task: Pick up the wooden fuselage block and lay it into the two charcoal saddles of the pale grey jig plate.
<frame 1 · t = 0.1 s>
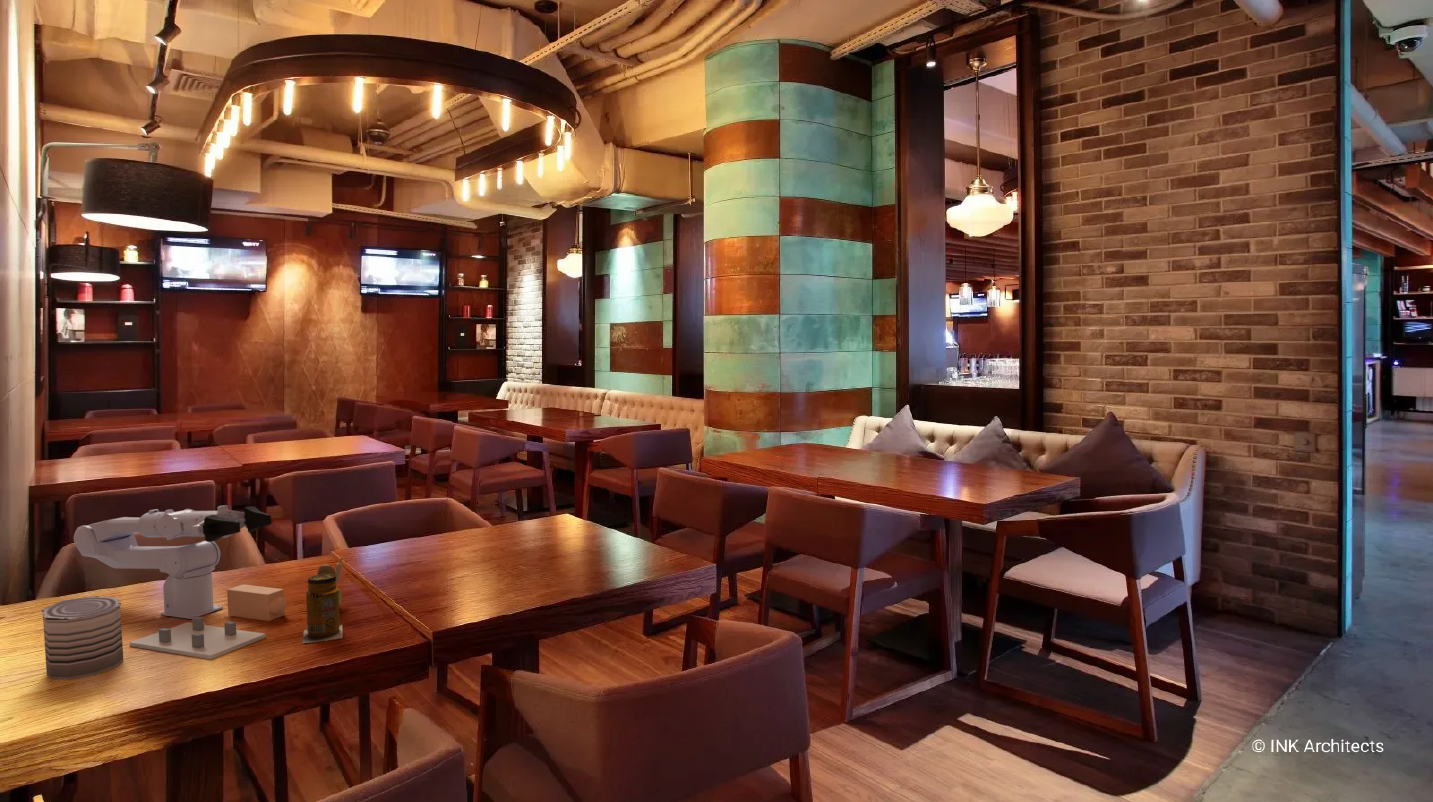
hand: (254, 523, 169), 22 cm above the table, tool horizontal, fingers open, 7 cm apart
cradle jig: (198, 641, 159), on the table
fuselage: (256, 615, 175), on the table
can: (85, 668, 146), on the table
snail figurine: (330, 610, 178), on the table
condiment: (323, 635, 162), on the table
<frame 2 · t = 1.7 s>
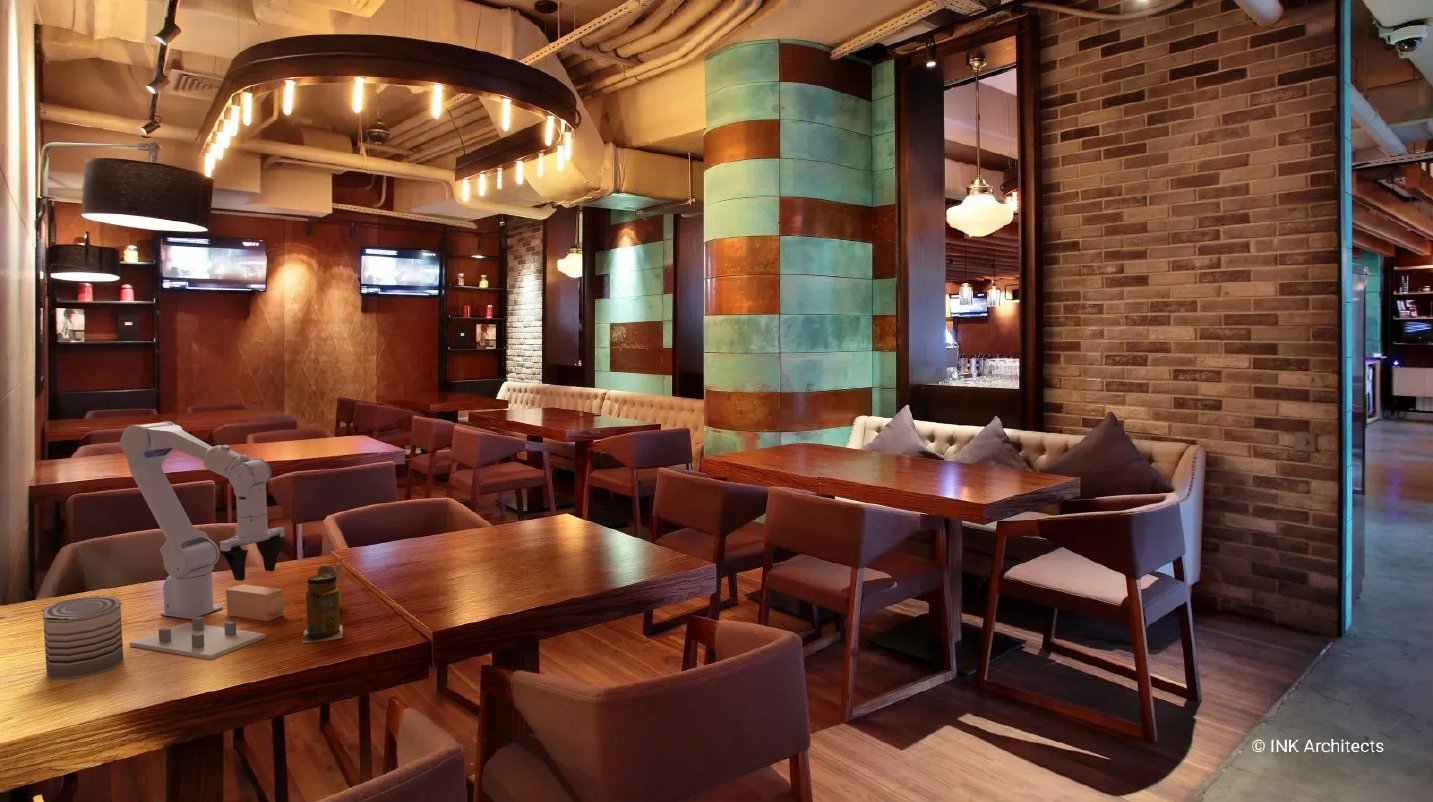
hand: (255, 575, 174), 9 cm above the table, tool pointing down, fingers open, 7 cm apart
nothing on the table moved.
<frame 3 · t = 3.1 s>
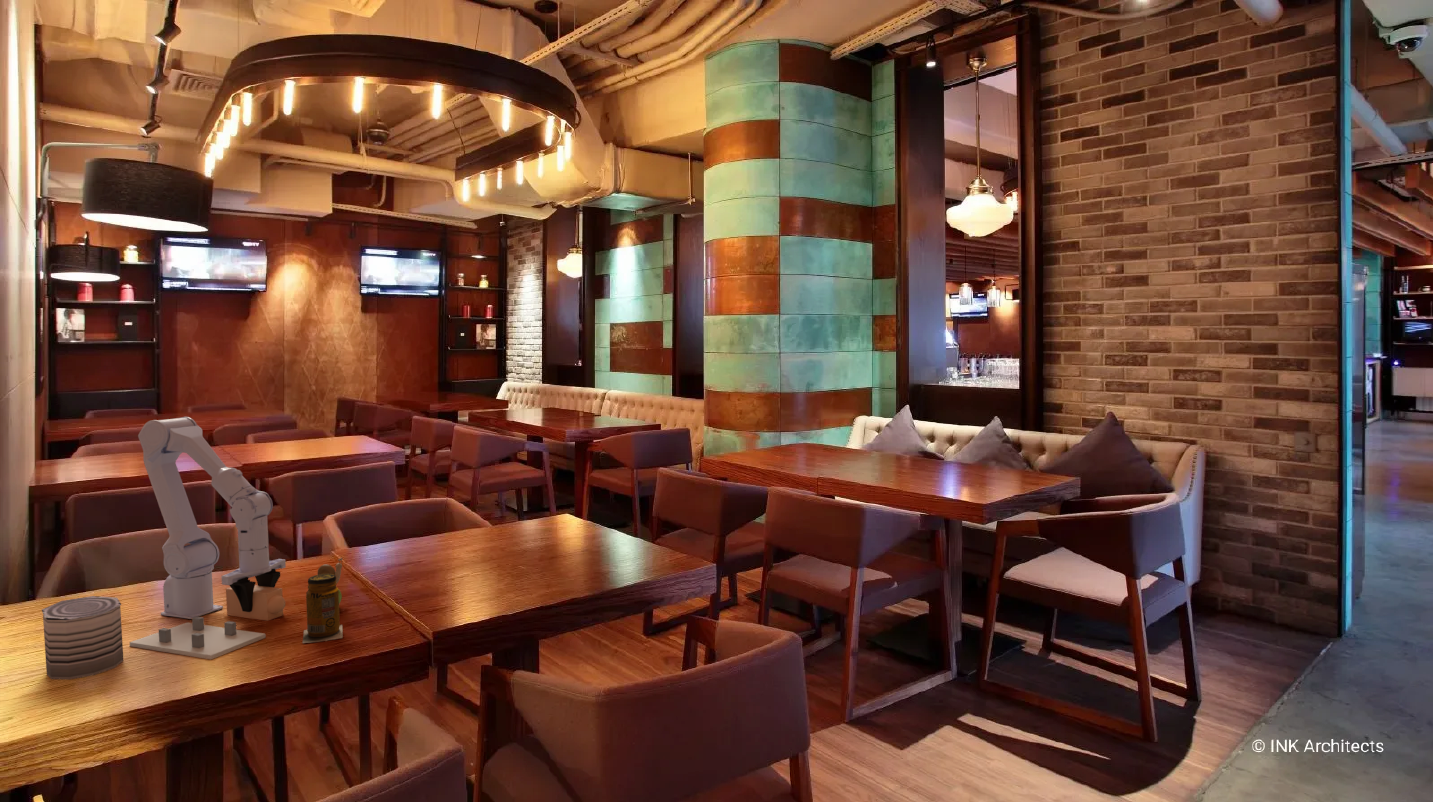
hand: (256, 607, 175), 2 cm above the table, tool pointing down, fingers closed on fuselage, 4 cm apart
fuselage: (255, 614, 175), on the table, touching gripper
everything else where it was.
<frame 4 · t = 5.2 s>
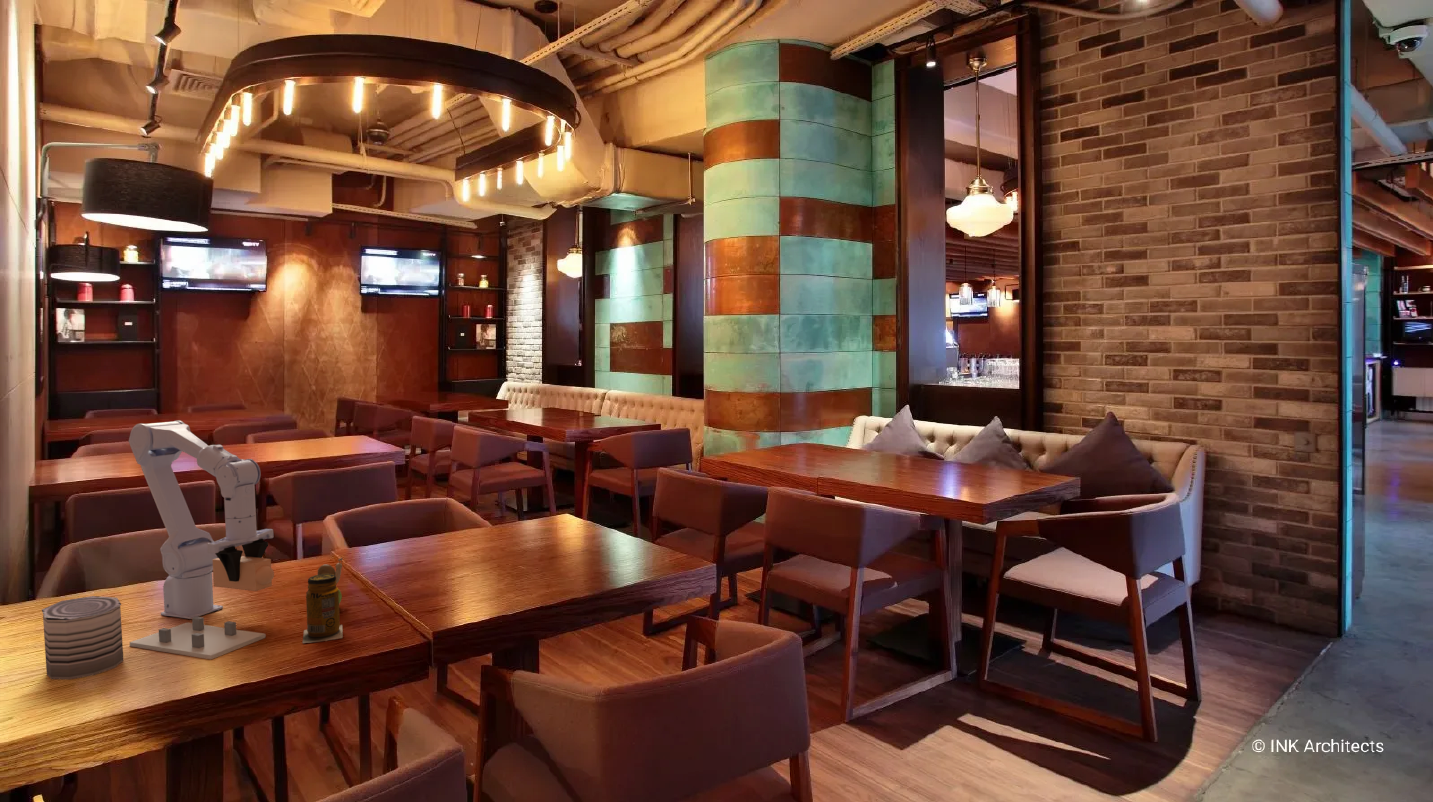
hand: (243, 577, 171), 9 cm above the table, tool pointing down, fingers closed on fuselage, 4 cm apart
fuselage: (242, 586, 171), point 8 cm above the table, touching gripper
everything else where it was.
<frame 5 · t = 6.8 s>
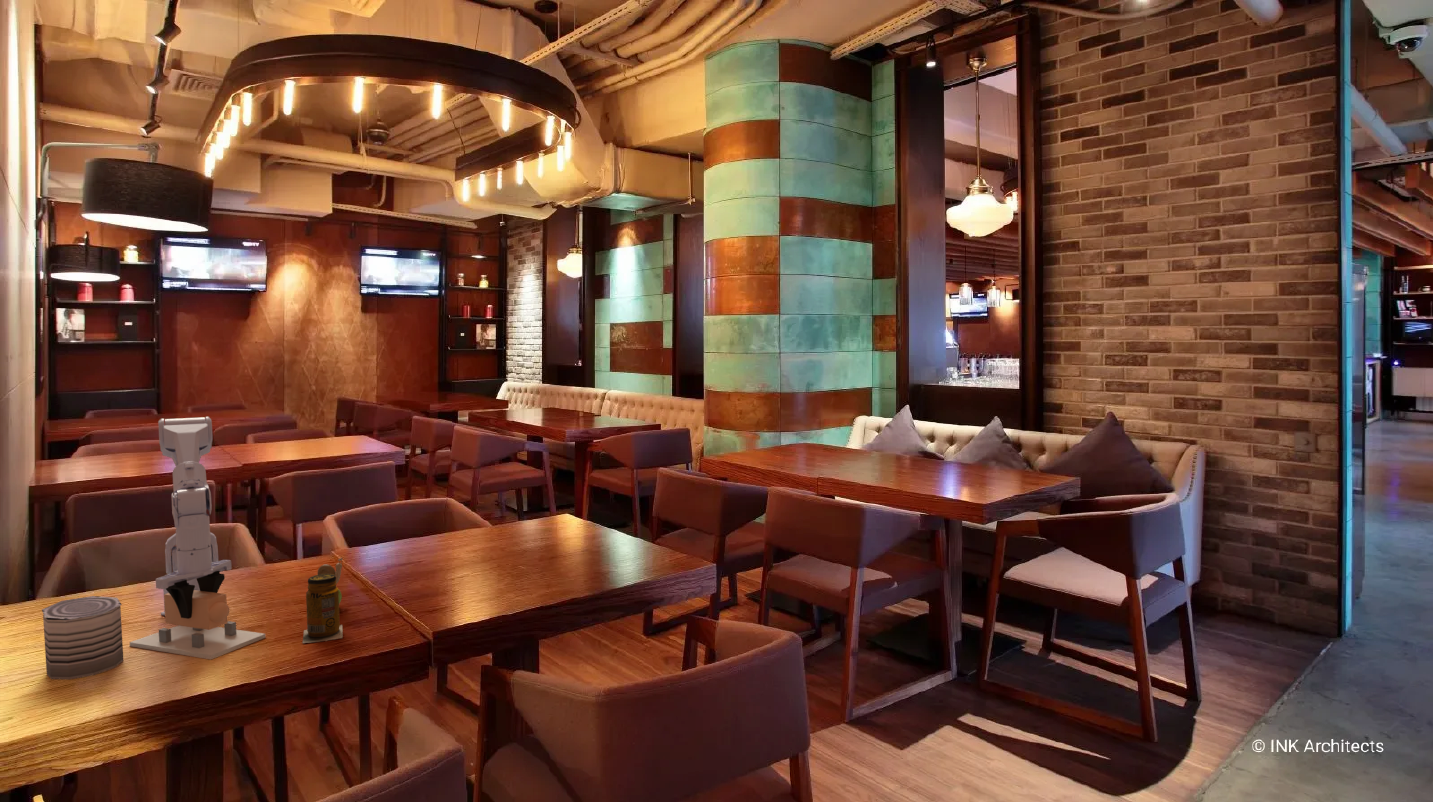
hand: (197, 613, 158), 6 cm above the table, tool pointing down, fingers closed on fuselage, 4 cm apart
fuselage: (196, 623, 159), point 4 cm above the table, touching gripper
everything else where it was.
when the fingers open (4 cm above the table, at t = 7.7 s): fuselage stays where it is, resting on cradle jig.
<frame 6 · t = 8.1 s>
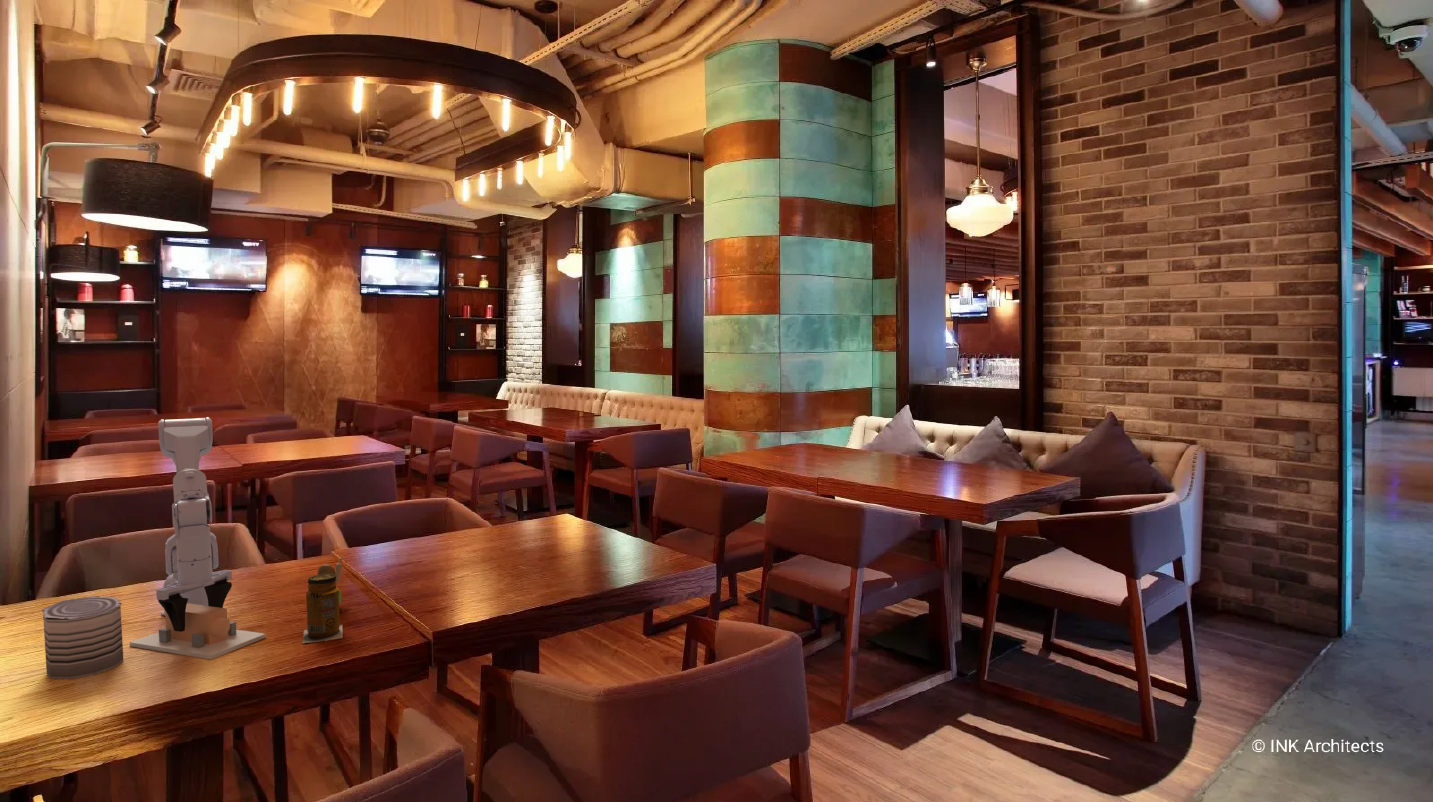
hand: (197, 624, 158), 4 cm above the table, tool pointing down, fingers open, 7 cm apart
fuselage: (197, 637, 159), point 1 cm above the table, touching cradle jig
everything else where it was.
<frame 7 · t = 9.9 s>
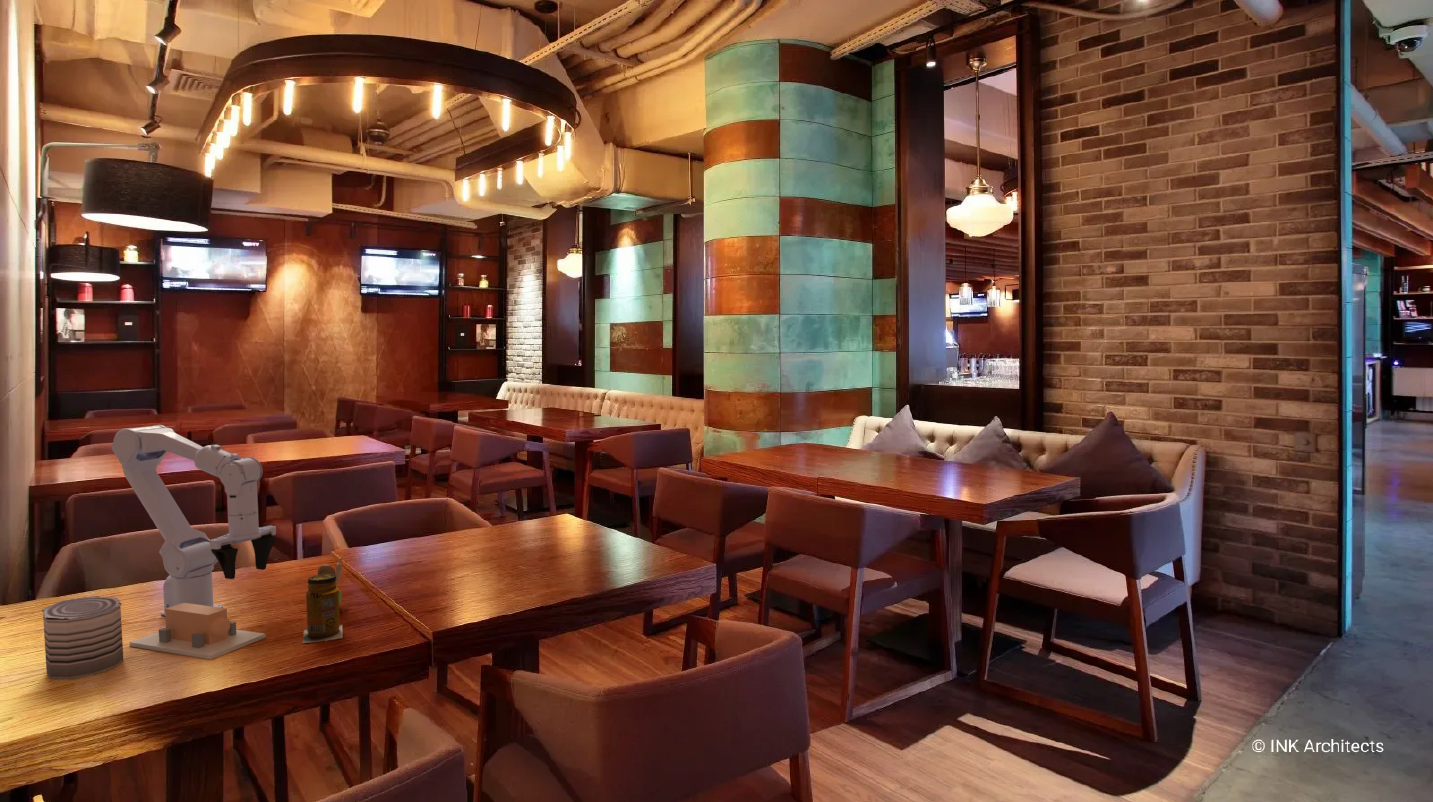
hand: (245, 573, 174), 9 cm above the table, tool pointing down, fingers open, 7 cm apart
nothing on the table moved.
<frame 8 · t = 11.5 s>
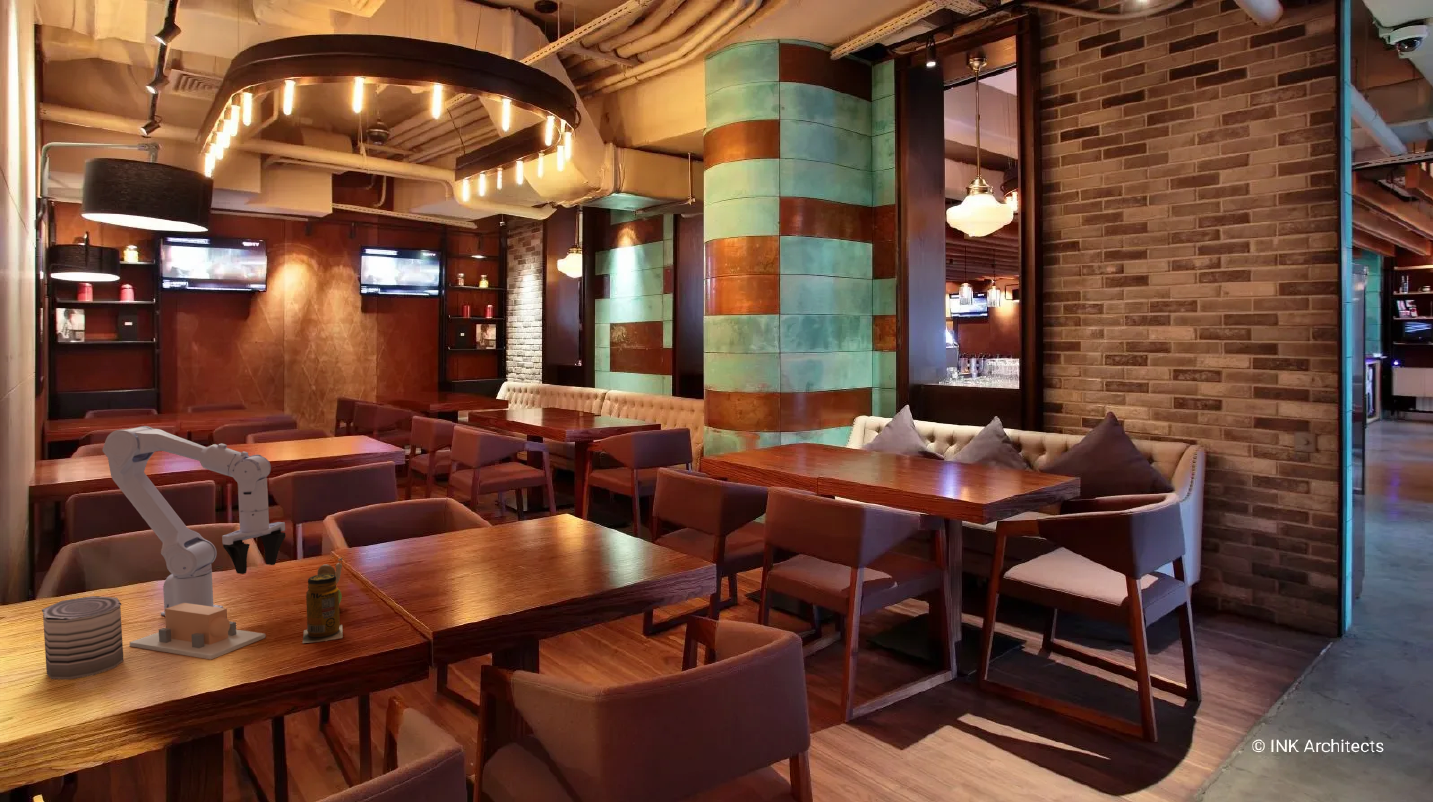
hand: (256, 568, 178), 9 cm above the table, tool pointing down, fingers open, 7 cm apart
nothing on the table moved.
at the end: fuselage 0.3 cm off-centre on the cradle jig, point 0.8 cm above the cradle jig's base; fuselage tilted 0°; the gripper is holding nothing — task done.
